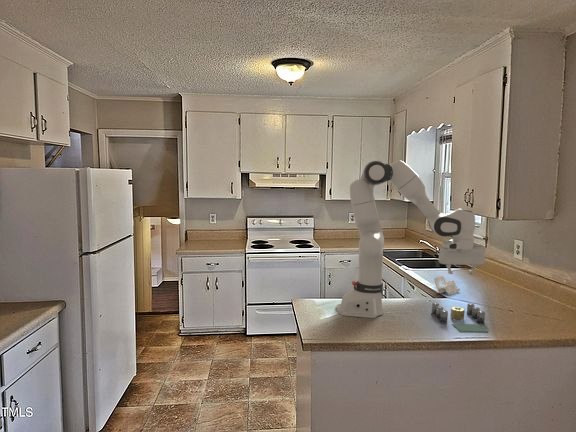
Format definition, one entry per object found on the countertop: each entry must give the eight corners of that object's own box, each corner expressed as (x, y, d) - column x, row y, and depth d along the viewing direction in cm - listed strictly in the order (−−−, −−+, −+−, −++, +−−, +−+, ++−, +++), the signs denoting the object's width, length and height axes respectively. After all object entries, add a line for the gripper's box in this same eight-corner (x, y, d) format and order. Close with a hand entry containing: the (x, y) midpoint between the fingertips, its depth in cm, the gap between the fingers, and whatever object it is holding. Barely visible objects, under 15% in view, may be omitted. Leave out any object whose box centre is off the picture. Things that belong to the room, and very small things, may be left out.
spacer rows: (441, 323, 176) (442, 312, 176) (430, 312, 189) (431, 302, 189) (485, 323, 177) (486, 313, 176) (471, 313, 190) (472, 303, 189)
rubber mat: (459, 331, 167) (459, 330, 167) (451, 324, 175) (451, 323, 175) (487, 332, 167) (487, 331, 167) (478, 325, 175) (478, 324, 175)
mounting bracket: (451, 293, 228) (445, 275, 230) (460, 291, 223) (454, 273, 225) (439, 297, 220) (433, 278, 223) (449, 295, 216) (443, 276, 218)
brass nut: (454, 320, 180) (455, 310, 180) (449, 315, 186) (449, 306, 185) (465, 320, 180) (466, 311, 180) (459, 316, 186) (460, 306, 186)
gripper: (481, 243, 182) (479, 272, 184) (438, 242, 182) (436, 271, 184) (489, 246, 176) (486, 276, 178) (443, 245, 176) (441, 275, 177)
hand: (460, 273), depth 181 cm, fingers open, 8 cm apart
